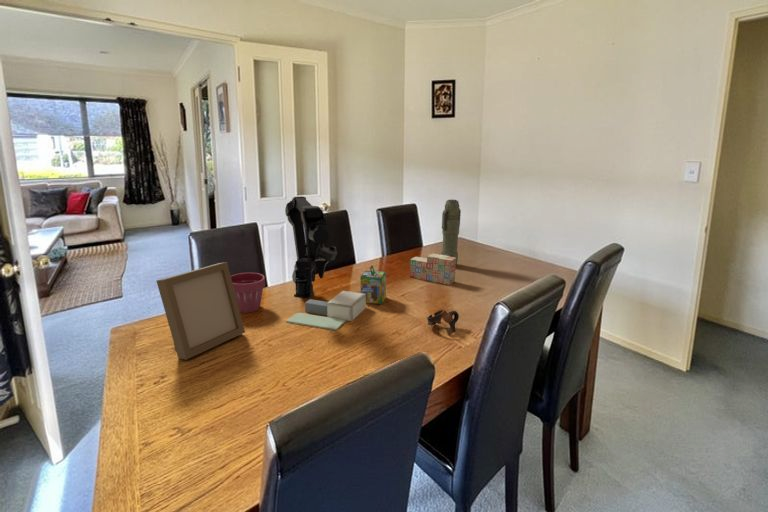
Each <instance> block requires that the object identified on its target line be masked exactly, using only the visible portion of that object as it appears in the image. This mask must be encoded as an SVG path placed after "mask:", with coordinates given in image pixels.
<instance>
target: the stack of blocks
mask: <svg viewBox="0 0 768 512" xmlns="http://www.w3.org/2000/svg"><path fill="white" fill-rule="evenodd" d="M456 267H457V266H456V258H455V257H450V256H446V255H441V254H437V253H431V254H429V255H427V256H426V257H421V256H414V257H412V258H411V259H409V278H412V277H413V279H416V280H421V279H422V280H423V281H426V280H428V281H427V282H431V281H433V282H432V283H436V282H438V283H437V284H441V283H443V284H442V285H445V284H448V285H447V286H451V285H452V284H453V283H455V279H456V269H457V268H456ZM452 282H453V283H452ZM451 283H452V284H451Z"/></svg>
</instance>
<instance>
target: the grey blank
mask: <svg viewBox="0 0 768 512" xmlns="http://www.w3.org/2000/svg"><path fill="white" fill-rule="evenodd" d="M328 302H329V301H324V300H317V299H311V298H310V299H308V300H307V301H305V302H304V311H305V313H312V314H318V315H323V316H327V303H328Z"/></svg>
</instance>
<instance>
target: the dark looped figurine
mask: <svg viewBox="0 0 768 512" xmlns="http://www.w3.org/2000/svg"><path fill="white" fill-rule="evenodd" d="M442 319H443V321H444V322H445V323H448V325H449V327H448V328H447V329H446V330H445V331H446V333H447V336H448V335H449V336H451V335H453V334H454V333H455V332H456V331H457V329H456V323H457V322H458V320H459V319H460V317H459V313H458V312H457V310H451V311H449V312H447V311H446V309H440V310H437V311H436V312H434V313H433V314H430V315H429V316H427V317H426V320H427V325H428V326H430V327H433V326H435V325H436V324H438V325H441V324H442Z"/></svg>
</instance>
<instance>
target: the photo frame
mask: <svg viewBox="0 0 768 512" xmlns="http://www.w3.org/2000/svg"><path fill="white" fill-rule="evenodd" d="M231 276H232V275H231V272H230V269H229V264H228V261H226V262H225V261H224V262H218V263H214V264H210V265H207V266H203V267H201V268H197V269H193V270H190V271H186V272H185V271H184V272H182V273H179V274H175V275H171V276H167V277H165V278H161V279H157V280H156V284H157V289H158V291H159V294H160V297H161V302H162V304H163V308H164V309H163V310H164V314H165V316H166V319H167V322H168V323H167V324H168V326H169V330H170V334H171V338H172V341H173V345H174V347H175V351H176V355H177V358H178V360H189V359H190V358H193V357H195V356H197V355H199V354H201V353H204V352H206V351H208V350H210V349H212V348H215V347H217V346H219V345H221V344H223V343H225V342H228V341H230V340H231V339H234V338H236V337H238V336H240V335H243V334H244V333H246V330H245V326H244V323H243V319H242V313H241V312H240V310H239V306H238V303H237V299H236V295H235V291H234V287H233V283H232V279H231Z"/></svg>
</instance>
